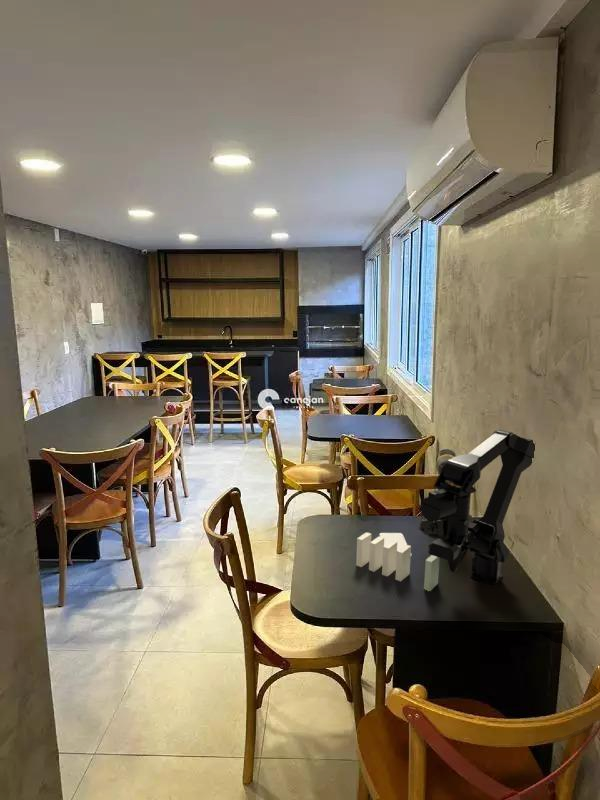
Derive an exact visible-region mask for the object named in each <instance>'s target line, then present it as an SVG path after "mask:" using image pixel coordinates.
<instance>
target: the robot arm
mask: <svg viewBox="0 0 600 800" xmlns="http://www.w3.org/2000/svg"><path fill="white" fill-rule="evenodd" d="M535 444H536V443H535ZM535 444H534V443H533V439H529V438H527V437H521V436H519V435H517V434H515V433H514V432H511V431H507V430H503V429H496V430H494V431H493V433H492V435H490V437H488V438H487V439H485V440H484V441H483V442H482V443H480V444H479V445H477V446H476V447H475V448H474V449H472V450H471V451H470V452H469V453H466V454H462V455H456V457H454V458H452V459H450V460H448V461H447V462H446V463H445V465H444V466H443V468H442V470H441V472H440V474H438V476H437V479H436V481H435V483H434V484H433V488H434V489H437V490H435V491H434V490H432V491H429V492H428V493H427V494H428V495H427V497H425V498H423V500H422V501H421V503H420V512H421V515H422V517H424V519H422V520H421V521H420V523H419V528H418V529H419V531H421V533H423V535H425V536H427V535H432V534H433V533H439V535H438V536H439V537H442V538H445V539H442V538H436V539H435V540H433V541H432V542H431V543H429V545H428V547H427V549H428V550H427V553H428V555H430V556H431V555H433V556H436V557H440V558H439V559H443V560H446V561H447V564H448V566H449V567H448V568H449V570H450V572H452V573H455V572H457V570H458V568H459V566H460V565H461V563H462V561H463V560H464V557H466V554H467V553H468V550H469V552H471V553H473V554H474V556H472V558H471V574H470V577H471V578H472V579H475V580H479V581H482V582H485V583H487V584H491V585H497V583H498V581H500V580H501V578H502V577H503V573H502V572H501V569H502V563H506V561H507V559H508V558H509V554H510V550H509V548H507V545H505V544H504V540H505V537H506V535H505V530H504V525H503V523H504V520H505V517H506V516H507V513H508V510H509V506H510V504H511V501H512V499H513V496H514V493H515V490H516V488H517V486H518V483H519V481H520V480H519V479H520V477H521V475H522V473H523V472H524V471H526V470H527V469H529V467H531V466H532V463H533V462H532V458H534V451H535ZM499 456H500V459H501V465H502V466H501V469H500V471H499V474H498V477H497V479H496V482H495V485H494V487H493V490H492V493H491V496H490V498H489V501H488V504H487V507H486V509H485V511H484V514H483V515H482V516H481V517H480V518H479V519H478V520H477V519H474V520H473V519H472V518H473V515H471V514H470V510H471V509H470V508H471V497H472V495H471V494H474V493H476V492H477V489H476V488H475V487H474V485H475V484H476V483H477V482H478V481H479V480H480V478H481V473H482V471H483V470H484V468H486V467H487V466H489V465H490V464H491V463H492V462H493V461H495V460H496V459H497V458H498V457H499ZM534 459H535V458H534ZM445 481H446V482H449V483H451V484H450V485H449V484H446V483H445ZM438 489H439V490H438ZM471 521H472V522H471Z"/></svg>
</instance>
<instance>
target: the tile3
mask: <svg viewBox="0 0 600 800" xmlns="http://www.w3.org/2000/svg"><path fill="white" fill-rule="evenodd" d="M396 557H397V542H396V541H393V540H392V541H390V542H389V543H388V544H386V545H385V546H383V562H382V566H381V567H382V568H381V570H382V571H381V575H382V576H384V577H390V575H391V574H392V573H394V572H396Z"/></svg>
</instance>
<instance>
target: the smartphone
mask: <svg viewBox="0 0 600 800" xmlns="http://www.w3.org/2000/svg"><path fill="white" fill-rule="evenodd" d="M379 536H380V537H383V538H384V546H385V545H386V544H388V543H389V542H390V541H392V540H393V541H396V542H397V551H398V550H399V549H400V548H401V547H403V546H404V545H405V544H406V545H408V543H407V542H406V538H405V536H404V535H403V533H401V532H380V533H379ZM412 555H413V554H412V553H411V556H410V558H412Z"/></svg>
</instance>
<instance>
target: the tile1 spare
mask: <svg viewBox="0 0 600 800" xmlns="http://www.w3.org/2000/svg"><path fill="white" fill-rule="evenodd" d="M440 559H441V558H440V557H436V556H433V555H430V556H428V557H427V558H426V559H425V562H424V563H425V566H424V581H423V583H424V584H423V590H424V589H425V590H424V591H426V590H427V592H429V591H430V592H431V591H432V590H433V589H434V588H435V587H436V586H437V585H438V584H439V573H440V572H439V570H440Z"/></svg>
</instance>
